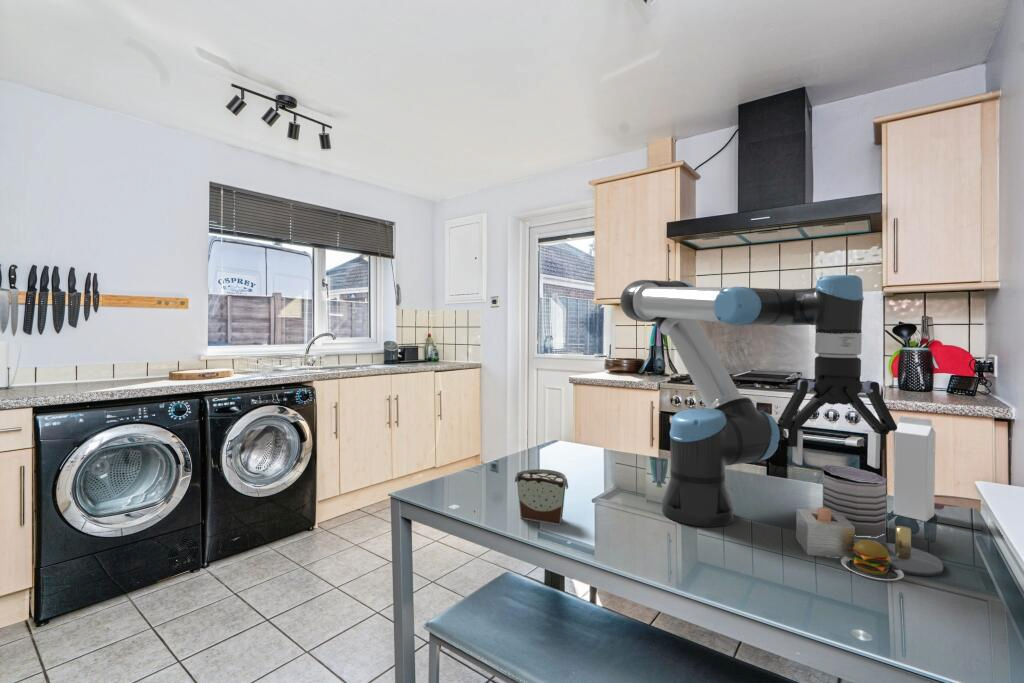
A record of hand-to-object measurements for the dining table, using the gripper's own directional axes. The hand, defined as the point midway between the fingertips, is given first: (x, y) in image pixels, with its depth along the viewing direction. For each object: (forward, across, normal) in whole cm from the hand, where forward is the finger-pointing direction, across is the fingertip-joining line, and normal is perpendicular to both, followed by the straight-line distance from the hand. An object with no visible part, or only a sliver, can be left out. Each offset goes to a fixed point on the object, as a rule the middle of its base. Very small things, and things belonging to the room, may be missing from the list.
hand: (834, 464), depth 97 cm
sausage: (+16, -3, -3) cm, 16 cm away
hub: (+15, +9, -6) cm, 19 cm away
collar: (+16, -3, -3) cm, 16 cm away
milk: (+16, +25, +19) cm, 35 cm away
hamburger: (+16, +2, -10) cm, 19 cm away
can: (+16, +8, +10) cm, 20 cm away
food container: (+16, -57, +5) cm, 60 cm away
